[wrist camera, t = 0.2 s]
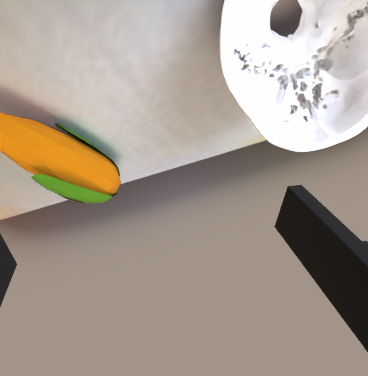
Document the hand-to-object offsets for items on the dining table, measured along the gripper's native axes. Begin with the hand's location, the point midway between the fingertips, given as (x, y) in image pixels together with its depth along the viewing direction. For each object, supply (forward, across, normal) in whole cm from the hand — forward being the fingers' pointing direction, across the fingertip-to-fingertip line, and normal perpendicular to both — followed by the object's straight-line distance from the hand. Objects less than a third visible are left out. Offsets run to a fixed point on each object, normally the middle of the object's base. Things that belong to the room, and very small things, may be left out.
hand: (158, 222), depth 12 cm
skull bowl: (+14, +12, +8) cm, 20 cm away
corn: (+23, -9, -5) cm, 25 cm away
